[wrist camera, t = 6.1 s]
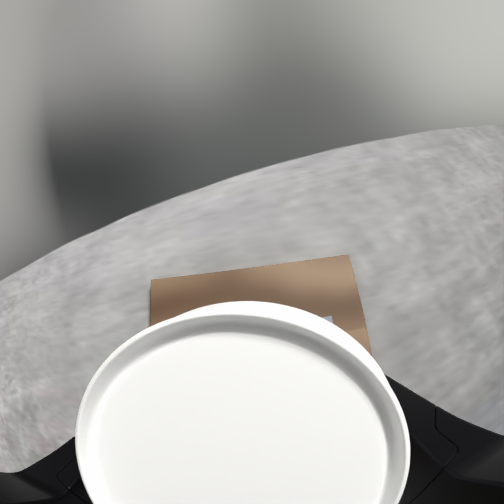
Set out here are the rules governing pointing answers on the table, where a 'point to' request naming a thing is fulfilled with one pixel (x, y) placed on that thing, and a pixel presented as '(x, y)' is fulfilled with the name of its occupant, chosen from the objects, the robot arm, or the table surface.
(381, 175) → the table surface
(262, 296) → the brown slab
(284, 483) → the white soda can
